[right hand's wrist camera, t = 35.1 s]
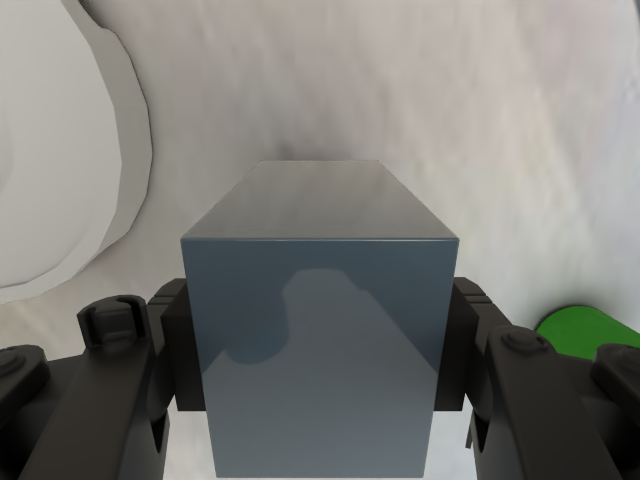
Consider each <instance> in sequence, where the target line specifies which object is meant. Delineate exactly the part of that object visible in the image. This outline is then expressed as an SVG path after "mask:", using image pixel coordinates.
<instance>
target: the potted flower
mask: <svg viewBox="0 0 640 480" xmlns="http://www.w3.org/2000/svg"><path fill="white" fill-rule="evenodd" d="M536 332H537V333H539V334H540V335H542V336H543V337H545V338H546V339H548V340H549V342H550V343H551V344H552V345H553V346H554V348H555V350H556V352H557V353H561V354H565V355H570V356H575V357H581V358H586V359H591V360H593V358H594V355H595V352H596V349H597V348H598V347H599V346H601V345H602V344H607V343H618V344H627V345H632V346H634V347H639V348H640V334H639V333H637V332H636V331H634V330H632V329H630V328H629V327H627V326H625V325H623V324H622V323H620V322H618V321H616V320H615V319H613V318H611V317H610V316H608V315H606V314H604V313H603V312H601V311H599V310H597V309H594V308H592V307H586V306H573V307H568V308H564V309H562V310H559V311H557V312H555V313H553V314H552V315H550V316H549V317H548V318H546V319H545V320H544V321H543V322H542V323H541V325H540V326H539V328H538V329H537V331H536Z"/></svg>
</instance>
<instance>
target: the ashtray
mask: <svg viewBox="0 0 640 480" xmlns="http://www.w3.org/2000/svg"><path fill="white" fill-rule="evenodd" d="M152 155H153V153H152V144H151V135H150V126H149V117H148V109H147V105H146V102H145V99H144V96H143V94H142V91H141V88H140V85H139V82H138V80H137V77H136V74H135V71H134V69H133V66H132V63H131V60H130V57H129V55H128V54H127V52H126V50H125V49H124V47H123V46H122V44H121V42H120V41H119V39H118V38H117V36H116V34H114V33H113V32H111V31H110V30H109V29H105V28H101V27H99V26H98V25H97V24H96V23H95V22H94V21H93V20H92V19H91V17H90V16H89V15H88V14H87V13H86V11H85V10H84V9H83V7H82V6H81V4H80V3H79V1H78V0H0V304H4V303H10V302H15V301H20V300H25V299H30V298H35V297H37V296H39V295H40V294H42V293H44V292H46V291H48V290H50V289H52V288H54V287H56V286H58V285H60V284H62V283H64V282H65V281H67V280H69V279H71V278H72V277H74V276H75V275H77V274H78V273H80V272H81V271H82V270H83V269H84V268H85V267H86V266H87V265H88V264H89V263H90V262H91V261H92V260H93V259H94V258H95V257H96V256H97V255H99V254H100V253H101V252H102V251H103V250H104V249H106V248H107V247H108V246H110V245H111V244H112V243H114V242H116V241H117V240H119V239H120V238H121V237H123V236H124V235H125V234H126V233H127V232H128V231H129V230H130V228H131V226H132V224H133V222H134V220H135V218H136V216H137V213H138V211H139V209H140V207H141V205H142V203H143V201H144V199H145V197H146V194H147V187H148V181H149V174H150V168H151V162H152Z"/></svg>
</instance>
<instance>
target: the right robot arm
mask: <svg viewBox="0 0 640 480" xmlns="http://www.w3.org/2000/svg"><path fill="white" fill-rule="evenodd" d="M77 318H78V322H79V325H80V329H81V332H82V335H83V339H84V342H85V346H86V349H85V350H84V352H83V354H82V355H78V356H73V357H68V358H63V359H58V360H52V361H47V359H46V356H45V353H44V350H43V349H42V348H40V347H39V346H36V345H20V346H12V347H8V348H7V349H5V348H4V349H1V350H0V480H163V473H164V465H165V458H166V450H167V442H168V435H169V427H170V422H169V415H168V411H167V408H168V406H169V404H170V402H171V400H172V398H173V396H174V394H175V398H176V404H177V409H178V411H206V406H205V399H204V392H203V386H202V379H201V373H200V366H199V360H198V353H197V346H196V340H195V333H194V327H193V320H192V314H191V307H190V300H189V294H188V287H187V281H186V278H175V279H174V280H172V281H170V282H168V283H167V284H165V285H163V286H162V287H161V288H160V289H159V290H158V292H157V293H156V294H155V295H154V297H152V298H151V300H150V301H149V302H148V305H146V302H145V300H144V299H143V298H141V297H140V296H135V295H117V296H112V297H108V298H104V299H101V300H99V301H96V302H93V303H92V304H90V305H88V306H86V307H85V308H83V309H82V310H81V311H80V312H79V313H78V314H77ZM465 393H466V395H467V397H468V399H469V401H470V403H471V405H472V406H473V411H472V415H471V420H470V425H469V430H468V435H467V440H466V447H465V448H469V449H470V448H471V444H472V441H473V449H474V457H475V464H476V472H477V480H640V348H639V347H634V346H632V345H627V344H618V343H607V344H602V345H601V346H599V347H598V348H597V349H596V352H595V355H594V358H593V360H591V359H586V358H581V357H575V356H570V355H565V354H561V353H557V352H556V350H555V348H554V346H553V345H552V344H551V343H550V342H549V340H548V339H546V338H545V337H543V336H542V335H540V334H539V333H537V332H534V331H532V330H530V329H527V328H524V327H520V326H515V325H512V323H511V322H510V321H509V320H508V319H507V318H506V317H505V315H504V314H503V313H502V312H501V311H500V310H499V309H498V307H497V306H496V305H495V304H493V303H492V301H491V299H490V298H489V297H488V296H486V294H485V293H484V291H483V290H482V289H481V288H480V287H479V286H478V285H477V284H475V283H474V282H472V281H470V280H468V279H467V278H465V277H454V279H453V285H452V292H451V299H450V305H449V312H448V318H447V325H446V331H445V338H444V344H443V351H442V358H441V364H440V371H439V377H438V384H437V390H436V397H435V404H434V410H433V411H462V408H463V402H464V397H465Z"/></svg>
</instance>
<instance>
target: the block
mask: <svg viewBox="0 0 640 480" xmlns="http://www.w3.org/2000/svg"><path fill="white" fill-rule="evenodd" d="M180 241H181V248H182V254H183V261H184V268H185V274H186V281H187V287H188V294H189V300H190V307H191V314H192V320H193V327H194V333H195V340H196V346H197V353H198V360H199V366H200V373H201V379H202V386H203V392H204V399H205V406H206V412H207V419H208V425H209V432H210V438H211V445H212V452H213V458H214V465H215V471H216V477H217V478H423V476H424V469H425V463H426V456H427V450H428V443H429V436H430V430H431V423H432V417H433V410H434V404H435V397H436V390H437V384H438V377H439V371H440V364H441V358H442V351H443V344H444V338H445V331H446V325H447V318H448V312H449V305H450V299H451V292H452V285H453V279H454V272H455V266H456V259H457V253H458V246H459V238H458V237H457V236H456V235H455V234H454V233H453V232H452V231H451V230H450V229H449V228H448V227H447V226H446V225H445V224H444V223H443V222H442V221H441V220H440V219H439V218H437V217H436V216H435V215H434V214H433V213H432V212H431V211H430V210H429V209H428V208H427V207H426V206H425V205H424V204H423V203H422V202H421V201H420V200H419V199H418V198H417V197H416V196H415V195H414V194H413V193H412V192H411V191H410V190H408V189H407V188H406V187H405V186H404V185H403V184H402V183H401V182H400V181H399V180H398V179H397V178H396V177H395V176H394V175H393V174H392V173H391V172H390V171H389V170H388V169H387V168H386V167H385V166H384V165H383V164H382V163H380V162H379V161H378V160H262V161H261V162H259V163H258V164H257V165H256V166H255V167H254V168H253V169H252V170H251V171H250V172H249V173H248V174H247V175H246V176H245V177H244V178H243V179H242V180H241V181H240V182H239V183H238V184H237V185H236V186H234V187H233V188H232V189H231V190H230V191H229V192H228V193H227V194H226V195H225V196H224V197H223V198H222V199H221V200H220V201H219V202H218V203H217V204H216V205H215V206H214V207H213V208H212V209H211V210H210V211H208V212H207V213H206V214H205V215H204V216H203V217H202V218H201V219H200V220H199V221H198V222H197V223H196V224H195V225H194V226H193V227H192V228H191V229H190V230H189V231H188V232H187V233H186V234H185V235H184V236H182V237H181V239H180Z"/></svg>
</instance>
